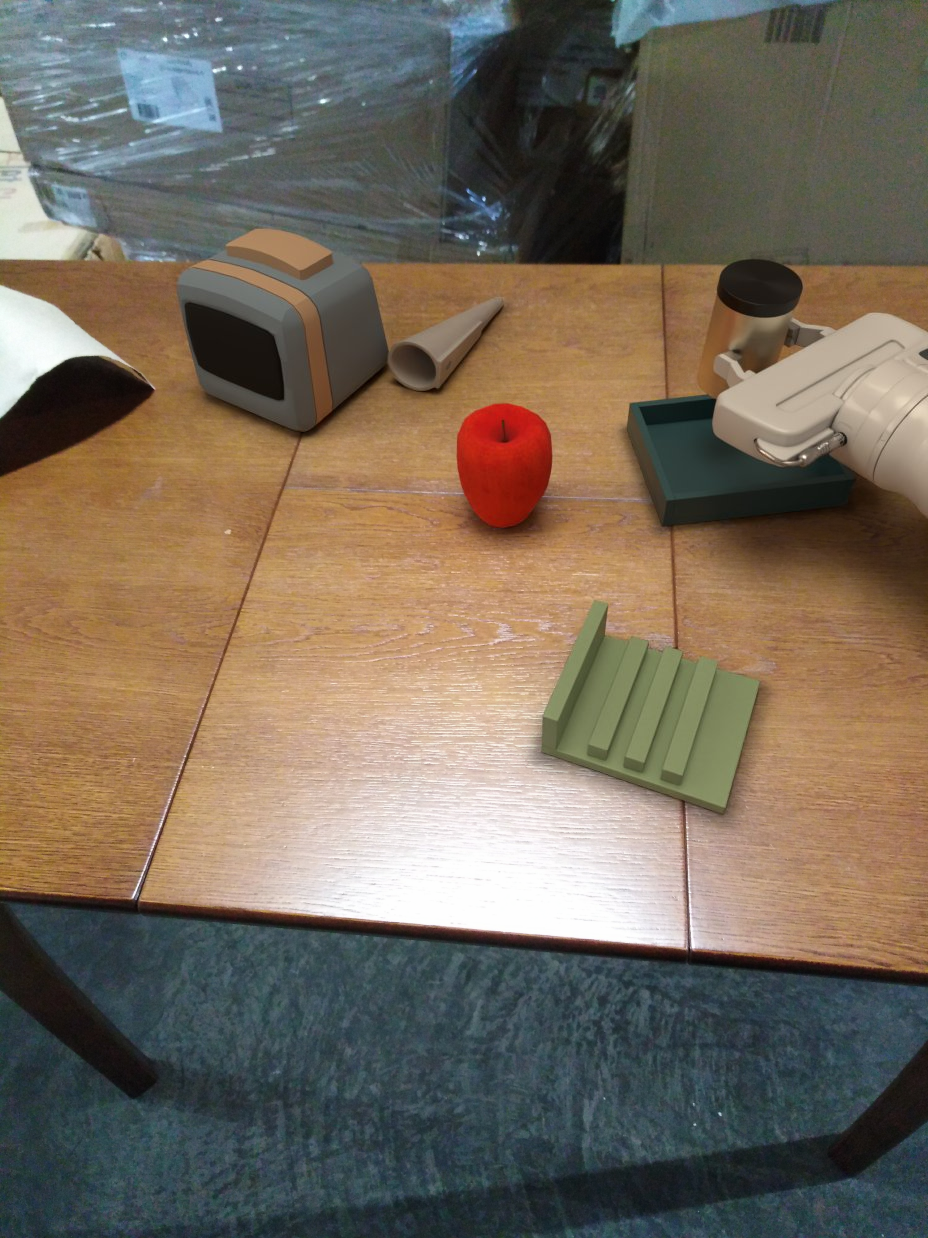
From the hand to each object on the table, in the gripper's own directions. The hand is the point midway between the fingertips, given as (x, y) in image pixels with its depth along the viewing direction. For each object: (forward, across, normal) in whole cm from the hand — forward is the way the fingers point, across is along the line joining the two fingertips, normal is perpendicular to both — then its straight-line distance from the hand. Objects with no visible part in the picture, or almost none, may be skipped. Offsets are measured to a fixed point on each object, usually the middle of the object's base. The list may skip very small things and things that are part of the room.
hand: (751, 342), depth 79 cm
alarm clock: (+39, -27, -14) cm, 49 cm away
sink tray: (-1, 0, -13) cm, 13 cm away
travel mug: (+1, 0, -4) cm, 5 cm away
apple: (+8, -22, -14) cm, 27 cm away
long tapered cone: (+34, -9, -14) cm, 38 cm away
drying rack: (-18, -27, -13) cm, 35 cm away
